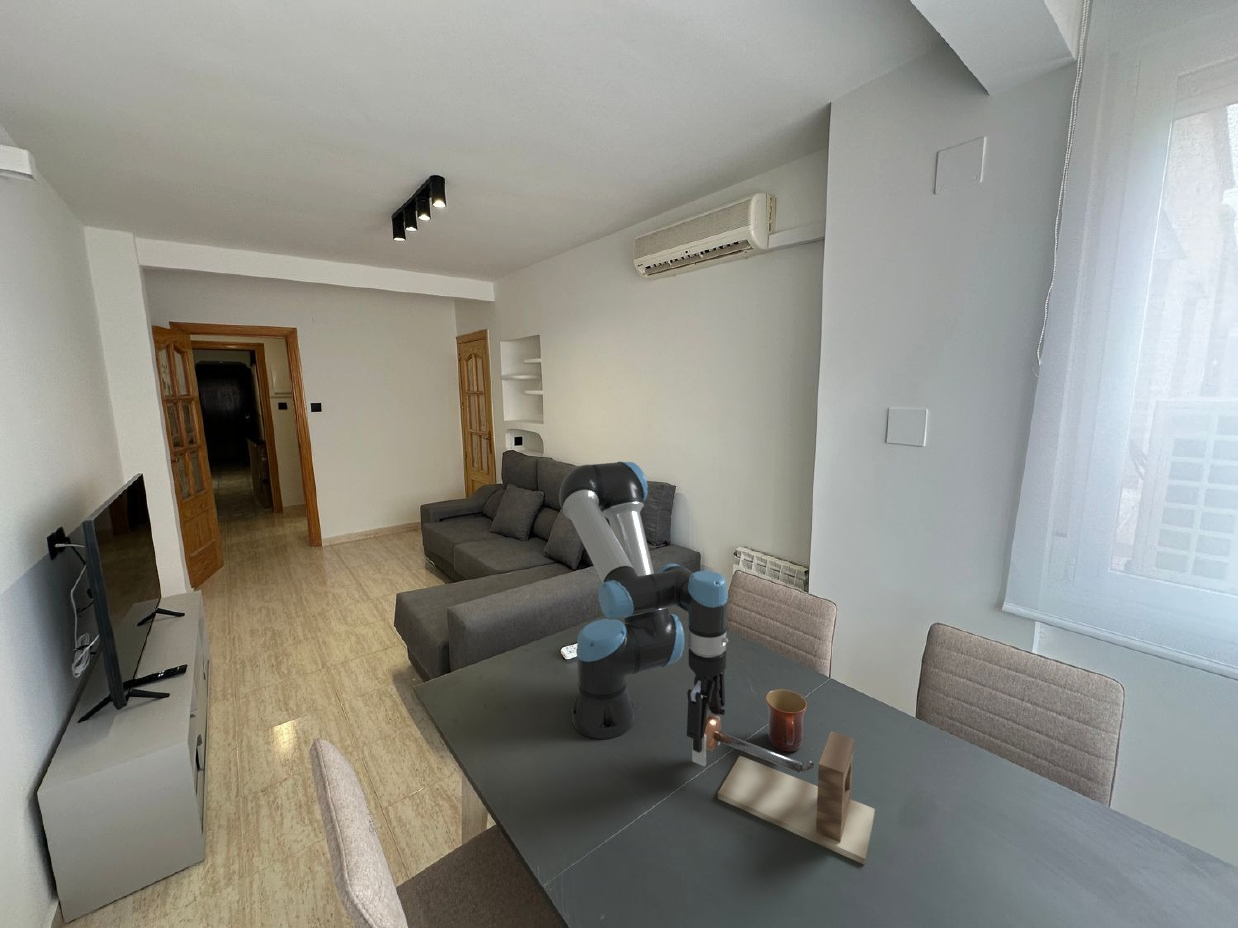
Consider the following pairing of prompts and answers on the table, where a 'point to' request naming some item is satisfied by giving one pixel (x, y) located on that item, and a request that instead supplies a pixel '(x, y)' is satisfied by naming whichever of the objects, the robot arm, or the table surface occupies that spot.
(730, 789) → the board
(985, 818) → the table surface
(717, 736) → the copper and grey mallet
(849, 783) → the eye block
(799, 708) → the mug
